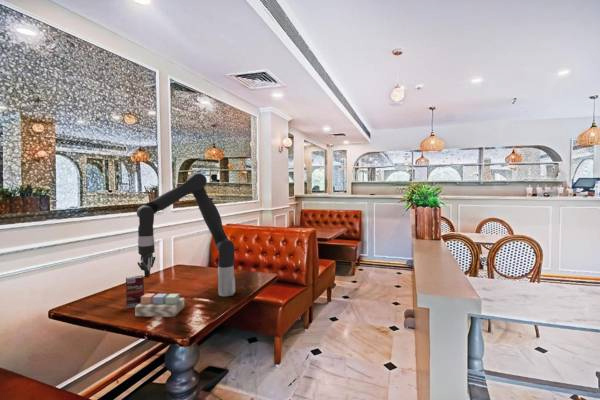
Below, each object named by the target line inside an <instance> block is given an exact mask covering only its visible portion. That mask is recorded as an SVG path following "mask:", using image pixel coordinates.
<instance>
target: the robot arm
mask: <svg viewBox="0 0 600 400" xmlns="http://www.w3.org/2000/svg"><path fill="white" fill-rule="evenodd" d="M207 182H208V180H207V177H206V176H205V175H204V174H202V173H192V174H190V175H189V176H188V177H187V178H186V181H185V182H184V183H181V184H180V185H179V186H177V187H174V188H173V189H170V190H168V191H167V192H164V193H163V194H161V195H159V196H158V197H156V198H154V199H153V200H151V201H147V203H145V204H142V205H141V206H139V207H138V208H137V210H136V216H137V217H138V223H139V225H138V229H137V231H138V233H137V234H138V235H137V237H138V238H137V243H138V244H137V248H138V249H137V250H138V254H139V255H140V261H138V262H137V265H138V267H139V269H140V270H141V271H144V275H143V276H144V278H150V277H151V269H152V268H153V267H154V264H155V261H156V256H154V255H153V254H154V253H155V251H156V250H155V237H154V236H155V235H154V221H155V214H156V213H158V212H161V211H164V210H165V209H167V208H169V207H170V206H172V205H173V204H175V203H176V202H179V201H180V199H183V198H184V197H186V196H188V195H189V194H192V195H193V197H194V199H195V201H196V203H197V204H196V205H197V206H198V209H199V211H200V213H201V214H200V215H201V216H202V218H203V220H204V223H205V225H206V226H207V229H208V230H209V233H210V234H211V236H212V238H213V242H214V244H215V245H214V246H215V248H216V250H217V252H218V261H217V281H218V283H217V284H218V286H217V287H218V296H220V297H230V296H234V294H235V293H236V277H235V271H234V270H235V267H234V266H235V265H234V263H235V257H236V256H235V254H236V253H235V249H236V248H235V244H234V242H233V241H232V240H230V239H229V238H228V236H227V233H226V232H225V231H224V227H223V221H222V217H221V215H220V212H219V210H218V208H217V206H216V204H215V203H214V202H213V200H212V199H211V198H210V196H209V195H208V194H207V193H208V192H207V191H206V189H205V187H206V186H207Z"/></svg>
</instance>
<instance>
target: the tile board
mask: <svg viewBox="0 0 600 400" xmlns="http://www.w3.org/2000/svg"><path fill="white" fill-rule="evenodd" d="M184 308H185V297H179V302H178V303H177V304H176V305H171V304H165V303H164V304H153V303H152V304H141V303H139V304H138V305H136V306H135V307H134V314H135V317H163V318H164V317H165V318H166V317H169V318H170V317H172V318H174V317H176V316H177V315H178V314H179V313H180V312H181V311H182V310H183V309H184Z"/></svg>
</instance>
